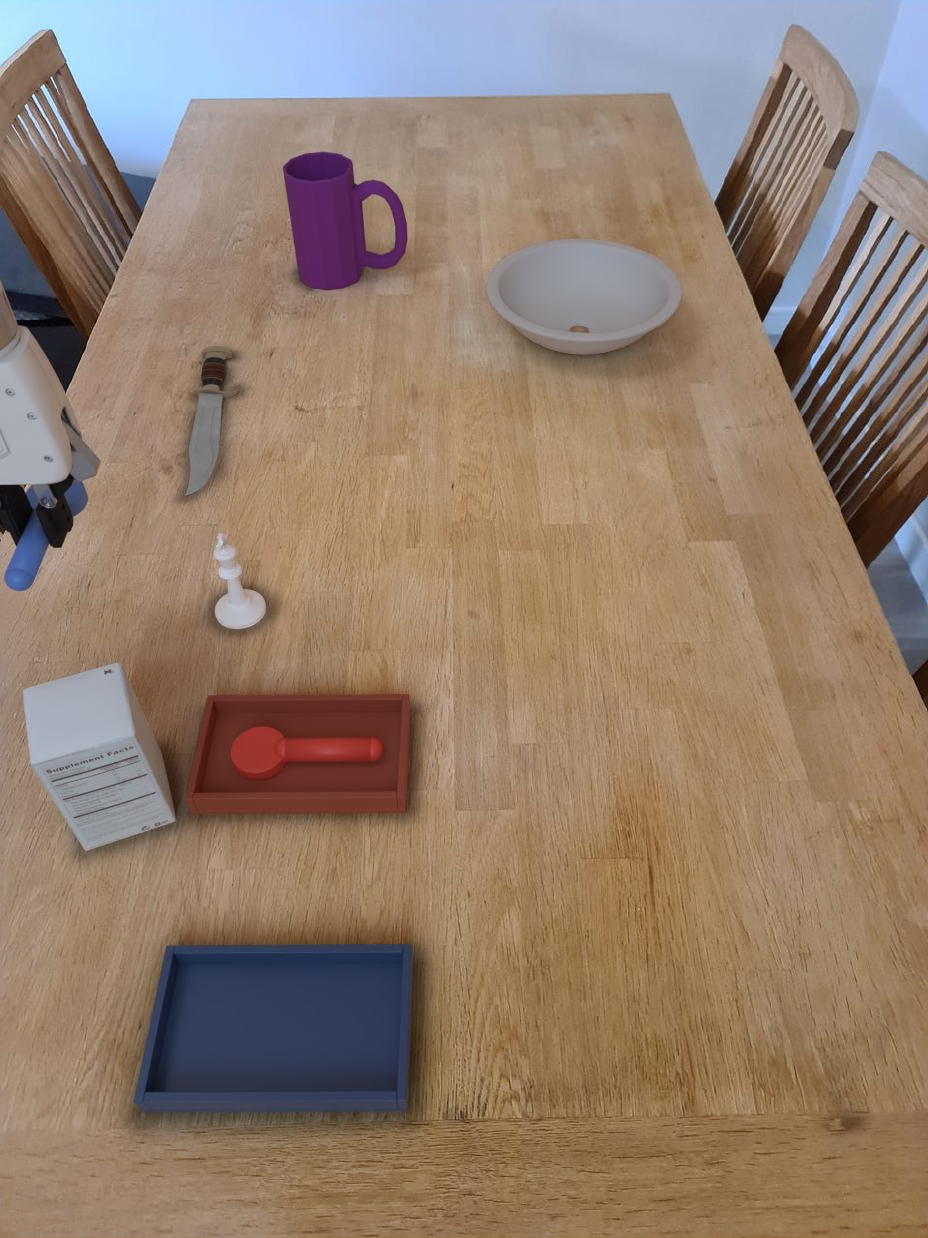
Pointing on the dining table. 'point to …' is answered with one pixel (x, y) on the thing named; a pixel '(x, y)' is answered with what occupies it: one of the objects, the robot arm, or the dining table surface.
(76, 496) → the blue spoon
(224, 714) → the terracotta tray
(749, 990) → the dining table surface
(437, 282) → the dining table surface
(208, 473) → the knife
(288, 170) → the mug
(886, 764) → the dining table surface
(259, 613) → the chess piece
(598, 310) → the white vessel sink
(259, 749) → the red spoon
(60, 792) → the white packaging box
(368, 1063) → the slate-blue tray
